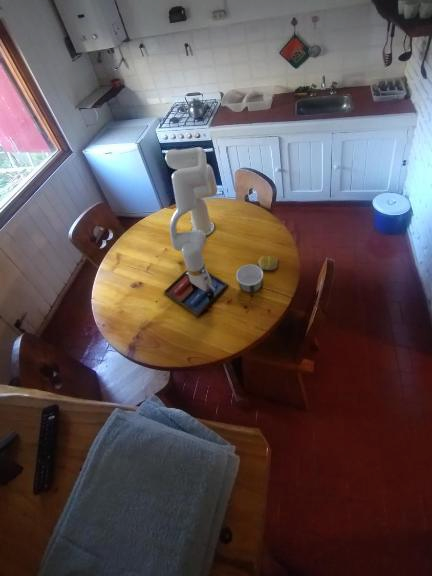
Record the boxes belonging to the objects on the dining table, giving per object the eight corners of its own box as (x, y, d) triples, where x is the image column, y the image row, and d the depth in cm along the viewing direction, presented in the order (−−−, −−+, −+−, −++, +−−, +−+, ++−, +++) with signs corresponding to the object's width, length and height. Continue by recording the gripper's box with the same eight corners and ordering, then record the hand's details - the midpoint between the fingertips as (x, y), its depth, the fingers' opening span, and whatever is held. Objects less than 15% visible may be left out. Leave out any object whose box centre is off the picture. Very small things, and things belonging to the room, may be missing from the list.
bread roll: (259, 257, 170) (259, 251, 167) (278, 259, 167) (277, 253, 165) (257, 270, 164) (256, 264, 161) (276, 272, 161) (275, 266, 158)
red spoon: (179, 298, 157) (177, 294, 156) (172, 293, 160) (171, 290, 159) (202, 275, 166) (201, 271, 164) (196, 271, 168) (195, 267, 167)
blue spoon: (195, 309, 151) (194, 306, 150) (188, 304, 154) (187, 301, 152) (219, 285, 160) (218, 281, 158) (212, 280, 162) (211, 277, 161)
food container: (268, 289, 154) (267, 279, 150) (243, 298, 153) (241, 288, 149) (258, 270, 163) (257, 261, 159) (234, 278, 162) (232, 269, 158)
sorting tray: (164, 293, 162) (163, 291, 160) (194, 266, 172) (193, 263, 171) (198, 317, 149) (197, 314, 147) (228, 286, 159) (227, 283, 158)
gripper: (217, 270, 142) (223, 296, 153) (188, 253, 152) (195, 279, 163) (205, 282, 138) (212, 308, 149) (175, 264, 148) (184, 289, 159)
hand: (203, 292), depth 156 cm, fingers open, 9 cm apart
